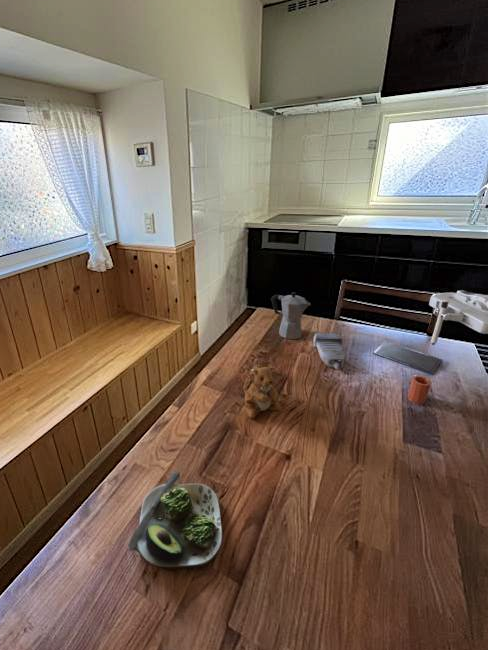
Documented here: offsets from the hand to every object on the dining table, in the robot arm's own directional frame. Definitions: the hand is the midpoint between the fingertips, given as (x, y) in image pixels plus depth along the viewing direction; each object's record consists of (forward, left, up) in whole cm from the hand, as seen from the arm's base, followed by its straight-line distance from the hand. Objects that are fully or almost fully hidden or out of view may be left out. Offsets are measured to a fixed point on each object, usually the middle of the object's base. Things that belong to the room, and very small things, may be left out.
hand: (438, 314), depth 99 cm
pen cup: (-3, +15, -21) cm, 26 cm away
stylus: (-1, -1, -10) cm, 11 cm away
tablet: (+6, -6, -21) cm, 23 cm away
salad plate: (+18, +88, -21) cm, 93 cm away
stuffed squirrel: (+29, +47, -21) cm, 60 cm away
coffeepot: (+45, +6, -21) cm, 50 cm away
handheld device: (+25, +10, -21) cm, 35 cm away
